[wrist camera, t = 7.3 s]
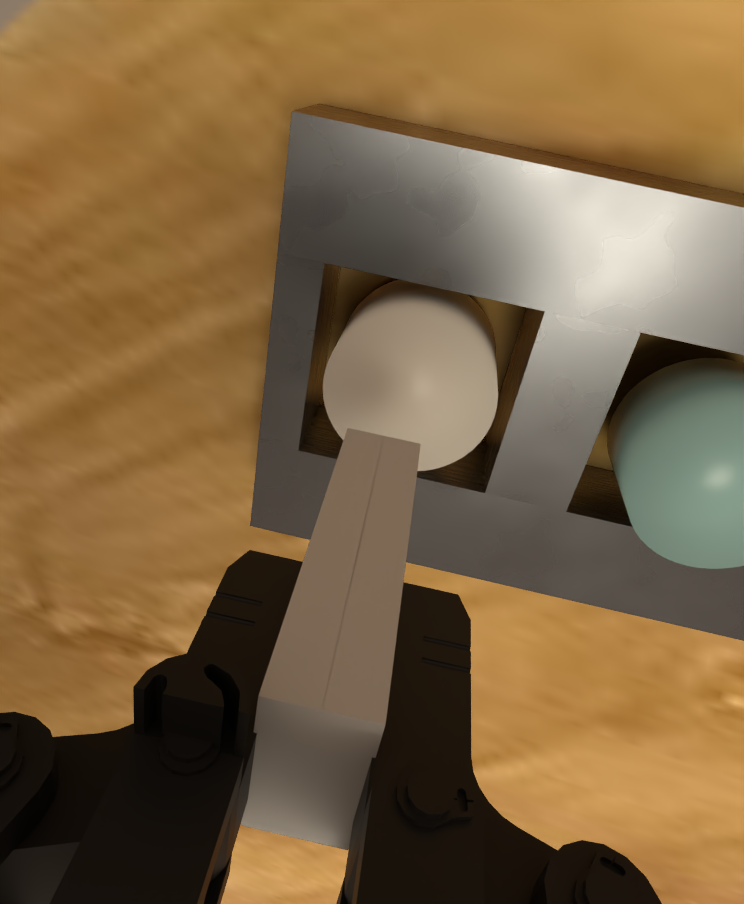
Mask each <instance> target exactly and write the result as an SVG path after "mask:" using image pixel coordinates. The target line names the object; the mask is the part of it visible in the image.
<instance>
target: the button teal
mask: <svg viewBox="0 0 744 904" xmlns="http://www.w3.org/2000/svg"><path fill="white" fill-rule="evenodd" d="M607 446H608V453H609V457H610V460H611V463H612V466H613V469H614V472H615V476H616V479H617V482H618V485H619V488H620V491H621V494H622V497H623V500H624V503H625V506H626V510H627V513H628V516H629V519H630V522H631V524H632V526H633V528H634V530H635V532H636V533H637V535H638V536H639V538H640V539H641V540H642V541H643V542H644V543H645V544H646V545H647V546H648V547H649V548H650V549H652V550H653V551H654V552H656V553H657V554H659V555H661V556H662V557H664V558H666V559H668V560H671V561H673V562H676V563H679V564H683V565H686V566H691V567H697V568H708V569H723V568H732V567H739V566H744V364H743V363H739V362H736V361H733V360H727V359H721V358H700V359H692V360H686V361H682V362H679V363H675V364H672V365H669V366H667V367H665V368H662V369H660V370H658V371H656V372H654V373H653V374H651V375H649V376H648V377H646V378H645V379H643V380H642V381H641V382H639V383H638V384H637V385H636V386H635V387H634V388H632V389H631V390H630V391H629V392H628V394H627V395H626V396H625V397H624V398H623V399H622V401H621V402H620V404H619V405H618V407H617V409H616V411H615V412H614V414H613V416H612V419H611V422H610V425H609V430H608V436H607Z"/></svg>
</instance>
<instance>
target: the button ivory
mask: <svg viewBox="0 0 744 904" xmlns="http://www.w3.org/2000/svg"><path fill="white" fill-rule="evenodd" d="M323 399H324V404H325V408H326V411H327V414H328V417H329V419H330V421H331V423H332V425H333V427H334V429H335V430H336V432H337V433H338V435H339V436H340V437H341V438H342V439H343V440H344V437H345V434H346V431H347V428H351V429H355V430H360V431H364V432H369V433H373V434H378V435H383V436H387V437H392V438H396V439H401V440H405V441H410V442H414V443H419V444H421V446H420V454H419V462H418V470H417V471H426V470H432V469H437V468H440V467H443V466H446V465H449V464H451V463H453V462H455V461H457V460H459V459H461V458H462V457H464V456H465V455H467V454H468V453H469V452H471V451H472V450H473V449H474V448H475V447H476V446H477V445H478V444H479V443H480V442H481V440H482V439H483V438H484V437H485V435H486V434H487V432H488V430H489V428H490V427H491V425H492V422H493V419H494V417H495V413H496V409H497V402H498V384H497V365H496V346H495V338H494V334H493V330H492V328H491V325H490V322H489V320H488V319H487V317H486V315H485V313H484V312H483V310H482V309H481V308H480V306H479V305H478V304H477V303H476V302H475V301H474V300H473V299H472V298H471V297H470V296H468V295H467V294H463V293H459V292H454V291H450V290H445V289H441V288H436V287H432V286H427V285H423V284H418V283H413V282H409V281H404V280H397V281H393V282H391V283H388V284H385V285H383V286H381V287H380V288H378V289H376V290H374V291H373V292H372V293H370V294H369V295H368V296H367V297H366V298H365V299H364V300H363V301H362V302H360V304H359V305H358V306H357V308H356V309H355V310H354V312H353V314H352V315H351V317H350V319H349V321H348V323H347V325H346V327H345V329H344V331H343V333H342V335H341V337H340V338H339V340H338V342H337V344H336V346H335V348H334V350H333V352H332V354H331V356H330V358H329V361H328V363H327V366H326V369H325V374H324V378H323Z"/></svg>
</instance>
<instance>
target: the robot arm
mask: <svg viewBox="0 0 744 904" xmlns="http://www.w3.org/2000/svg"><path fill="white" fill-rule="evenodd" d="M420 446H421V444H419V443H414V442H410V441H405V440H401V439H396V438H392V437H387V436H383V435H378V434H373V433H369V432H364V431H360V430H355V429H351V428H347V431H346V434H345V437H344V440H343V443H342V446H341V449H340V452H339V455H338V458H337V461H336V464H335V467H334V470H333V473H332V476H331V479H330V482H329V485H328V488H327V491H326V494H325V497H324V500H323V503H322V506H321V509H320V512H319V515H318V518H317V521H316V524H315V527H314V530H313V533H312V536H311V539H310V542H309V545H308V548H307V551H306V554H305V557H304V560H303V562H301V561H296V560H292V559H288V558H283V557H279V556H274V555H270V554H265V553H261V552H256V551H252V550H249V551H248V552H247V553H245V554H244V555H243V556H242V557H240V558H239V559H238V560H237V561H235V562H234V563H233V564H232V565H230V566H229V567H228V568H227V570H226V572H225V575H224V577H223V579H222V581H221V583H220V585H219V587H218V589H217V591H216V595H215V596H214V597H213V600H212V602H211V604H210V606H209V608H208V610H207V614H206V616H204V618H203V620H202V623H201V625H200V627H199V629H198V631H197V633H196V635H195V637H194V639H193V641H192V643H191V645H190V648H189V650H188V652H187V654H184V655H180V656H175V657H171V658H167V659H165V660H164V661H162V662H160V663H159V664H157V665H155V666H154V667H152V668H150V669H149V670H147V671H146V673H145V674H144V675H143V676H142V677H141V679H140V680H139V681H138V682H137V684H136V685H135V686H134V687H133V688H134V724H131V725H129V726H126V727H124V728H121V729H118V730H115V731H109V732H104V733H97V734H85V735H73V736H61V737H52V735H51V732H50V730H49V729H48V728H47V727H46V726H45V725H44V724H42V723H41V722H40V721H39V720H38V719H37V718H35V717H32V716H28V715H24V714H21V713H17V712H7V713H0V904H220V903H221V900H222V896H223V893H224V889H225V886H226V883H227V879H228V876H229V872H230V864H231V856H232V851H233V847H234V844H235V841H236V837H237V834H238V831H239V827H240V824H241V826H246V827H250V828H254V829H259V830H263V831H267V832H272V833H276V834H280V835H285V836H289V837H293V838H298V839H302V840H306V841H311V842H315V843H319V844H324V845H328V846H332V847H337V848H341V849H345V850H348V849H349V852H348V858H347V865H346V872H345V877H344V881H343V884H342V887H341V891H340V894H339V897H338V900H337V904H662V903H661V901H660V900H659V898H658V896H657V895H656V893H655V891H654V890H653V888H652V886H651V884H650V883H649V881H648V879H647V878H646V876H645V875H644V874H643V873H642V872H641V871H640V870H639V869H638V868H637V867H636V866H635V865H634V864H633V863H632V862H631V861H630V860H629V859H628V858H627V857H625V856H623V855H622V854H620V853H618V852H616V851H615V850H613V849H611V848H609V847H608V846H606V845H604V844H599V843H594V842H588V841H583V840H581V841H577V842H574V843H570V844H566V845H563V846H562V847H561V848H560V849H559V850H556V849H554V848H552V847H551V846H549V845H547V844H545V843H544V842H542V841H540V840H539V839H537V838H535V837H533V836H532V835H530V834H528V833H527V832H525V831H523V830H521V829H520V828H518V827H516V826H515V825H514V824H512V823H511V822H509V821H508V820H507V819H505V818H504V817H503V816H501V815H500V814H499V813H498V811H497V810H496V809H495V808H494V807H493V806H492V805H491V804H490V803H489V802H488V800H487V799H486V797H485V796H484V794H483V793H482V791H481V789H480V788H479V786H478V783H477V780H476V778H475V775H474V773H473V767H472V760H471V674H470V669H471V652H470V647H471V620H470V618H469V616H468V614H467V612H466V610H465V608H464V606H463V604H462V602H461V599H460V597H459V595H458V594H453V593H449V592H444V591H440V590H435V589H431V588H426V587H422V586H417V585H413V584H408V583H404V582H403V581H404V573H405V566H406V558H407V550H408V542H409V534H410V526H411V518H412V510H413V502H414V494H415V486H416V478H417V470H418V462H419V454H420ZM241 821H242V822H241Z"/></svg>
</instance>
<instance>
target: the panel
mask: <svg viewBox="0 0 744 904" xmlns="http://www.w3.org/2000/svg"><path fill="white" fill-rule="evenodd" d="M341 267H345V268H350V269H354V270H359V271H363V272H368V273H373V274H377V275H382V276H386V277H391V278H395V279H400V280H404V281H409V282H413V283H418V284H423V285H427V286H432V287H436V288H441V289H445V290H450V291H454V292H459V293H463V294H468V295H473V296H477V297H482V298H486V299H491V300H495V301H500V302H504V303H509V304H513V305H518V306H523V307H527V309H526V312H525V315H524V318H523V322H522V325H521V328H520V331H519V334H518V337H517V341H516V344H515V347H514V350H513V353H512V357H511V360H510V363H509V366H508V369H507V373H506V376H505V379H504V382H503V385H502V389H501V392H500V395H499V398H498V402H497V409H496V413H495V417H494V419H493V422H492V425H491V427H490V428H489V430H488V433H487V436H486V440H485V442H480V443H479V444H478V445H477V446H476V447H475V448H474V449H473V450H472V451H471V452H469V453H468V454H467V455H465V456H464V457H462V458H461V459H459V460H457V461H455V462H453V463H451V464H449V465H446V466H443V467H440V468H437V469H432V470H426V471H417V478H416V486H415V494H414V502H413V510H412V518H411V526H410V534H409V542H408V550H407V558H406V562H408V563H412V564H417V565H421V566H425V567H430V568H434V569H438V570H442V571H447V572H451V573H455V574H460V575H464V576H468V577H473V578H477V579H481V580H485V581H490V582H494V583H498V584H503V585H507V586H511V587H516V588H520V589H524V590H528V591H533V592H537V593H541V594H546V595H550V596H554V597H559V598H563V599H567V600H571V601H576V602H580V603H584V604H589V605H593V606H597V607H601V608H606V609H610V610H614V611H619V612H623V613H627V614H632V615H636V616H640V617H644V618H649V619H653V620H657V621H662V622H666V623H670V624H675V625H679V626H683V627H687V628H692V629H696V630H700V631H705V632H709V633H713V634H718V635H722V636H726V637H730V638H735V639H739V640H743V641H744V566H739V567H732V568H723V569H708V568H697V567H691V566H686V565H683V564H679V563H676V562H673V561H671V560H668V559H666V558H664V557H662V556H661V555H659V554H657V553H656V552H654V551H653V550H652V549H650V548H649V547H648V546H647V545H646V544H645V543H644V542H643V541H642V540H641V539H640V538H639V536H638V535H637V533H636V532H635V530H634V528H633V526H632V524H631V522H630V519H629V516H628V513H627V510H626V506H625V503H624V500H623V497H622V494H621V491H620V488H619V485H618V482H617V479H616V476H615V472H613V471H608V470H604V469H600V468H595V467H591V466H586V463H587V460H588V458H589V456H590V453H591V451H592V448H593V446H594V444H595V441H596V439H597V436H598V434H599V432H600V429H601V427H602V424H603V422H604V420H605V417H606V415H607V413H608V410H609V408H610V405H611V403H612V401H613V398H614V396H615V393H616V391H617V389H618V386H619V384H620V381H621V379H622V377H623V374H624V372H625V369H626V367H627V365H628V362H629V360H630V357H631V355H632V353H633V350H634V348H635V345H636V343H637V341H638V338H639V336H640V333H645V334H650V335H654V336H659V337H663V338H668V339H673V340H677V341H682V342H686V343H691V344H695V345H700V346H704V347H709V348H713V349H718V350H723V351H727V352H732V353H736V354H741V355H744V194H741V193H737V192H732V191H727V190H723V189H718V188H713V187H708V186H704V185H699V184H694V183H690V182H685V181H680V180H676V179H671V178H666V177H661V176H657V175H652V174H647V173H643V172H638V171H633V170H629V169H624V168H619V167H615V166H610V165H605V164H600V163H596V162H591V161H586V160H582V159H577V158H572V157H568V156H563V155H558V154H553V153H549V152H544V151H539V150H535V149H530V148H525V147H521V146H516V145H511V144H506V143H502V142H497V141H492V140H488V139H483V138H478V137H474V136H469V135H464V134H459V133H455V132H450V131H445V130H441V129H436V128H431V127H427V126H422V125H417V124H412V123H408V122H403V121H398V120H394V119H389V118H384V117H380V116H375V115H370V114H366V113H361V112H356V111H351V110H347V109H342V108H337V107H333V106H328V105H323V104H317V105H313V106H310V107H306V108H302V109H298V110H295V111H292V116H291V125H290V135H289V145H288V155H287V165H286V175H285V185H284V195H283V205H282V215H281V225H280V235H279V245H278V255H277V265H276V274H275V284H274V294H273V304H272V314H271V324H270V334H269V344H268V354H267V364H266V374H265V384H264V394H263V404H262V414H261V424H260V433H259V443H258V453H257V463H256V473H255V483H254V493H253V503H252V513H251V523H250V526H253V527H258V528H262V529H266V530H271V531H275V532H279V533H283V534H288V535H292V536H296V537H301V538H305V539H309V540H310V539H311V536H312V533H313V530H314V527H315V524H316V521H317V518H318V515H319V512H320V509H321V506H322V503H323V500H324V497H325V494H326V491H327V488H328V485H329V482H330V479H331V476H332V473H333V470H334V467H335V464H336V461H337V458H338V455H339V452H340V449H341V446H342V443H343V439H342V438H341V437H340V436H339V435H338V433H337V432H336V430H335V429H334V427H333V425H332V423H331V421H330V419H329V417H328V414H327V411H326V408H325V406H321V405H320V399H321V392H322V386H323V378H324V373H325V366H326V360H327V353H328V347H329V340H330V334H331V327H332V320H333V314H334V307H335V301H336V294H337V288H338V281H339V275H340V268H341Z"/></svg>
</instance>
